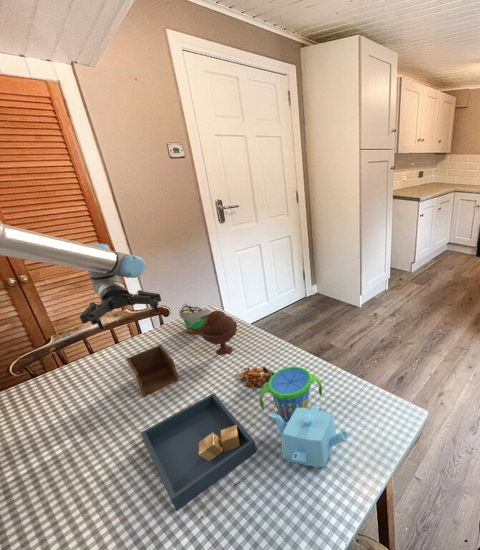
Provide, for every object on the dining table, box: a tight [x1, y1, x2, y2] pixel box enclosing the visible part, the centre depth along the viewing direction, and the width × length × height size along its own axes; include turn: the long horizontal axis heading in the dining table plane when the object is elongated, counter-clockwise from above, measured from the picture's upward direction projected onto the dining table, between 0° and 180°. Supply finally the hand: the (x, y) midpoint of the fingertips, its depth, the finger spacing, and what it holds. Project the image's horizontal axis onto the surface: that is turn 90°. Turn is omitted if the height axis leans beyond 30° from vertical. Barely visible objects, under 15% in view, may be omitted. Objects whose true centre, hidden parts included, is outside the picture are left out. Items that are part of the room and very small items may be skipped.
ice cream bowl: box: [200, 310, 238, 356], centre depth 101 cm, size 11×11×15 cm
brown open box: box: [125, 344, 180, 398], centre depth 89 cm, size 11×9×8 cm
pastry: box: [235, 366, 276, 388], centre depth 90 cm, size 7×12×4 cm, turn 78°
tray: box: [140, 392, 257, 512], centre depth 69 cm, size 22×17×4 cm
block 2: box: [221, 425, 240, 452], centre depth 69 cm, size 3×3×3 cm
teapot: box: [269, 405, 349, 469], centre depth 66 cm, size 18×14×10 cm
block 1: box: [199, 433, 223, 462], centre depth 67 cm, size 3×3×3 cm
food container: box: [179, 303, 211, 336], centre depth 113 cm, size 12×6×10 cm, turn 68°
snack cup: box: [259, 366, 323, 422], centre depth 78 cm, size 16×10×10 cm
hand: (129, 316), depth 90 cm, fingers open, 13 cm apart
